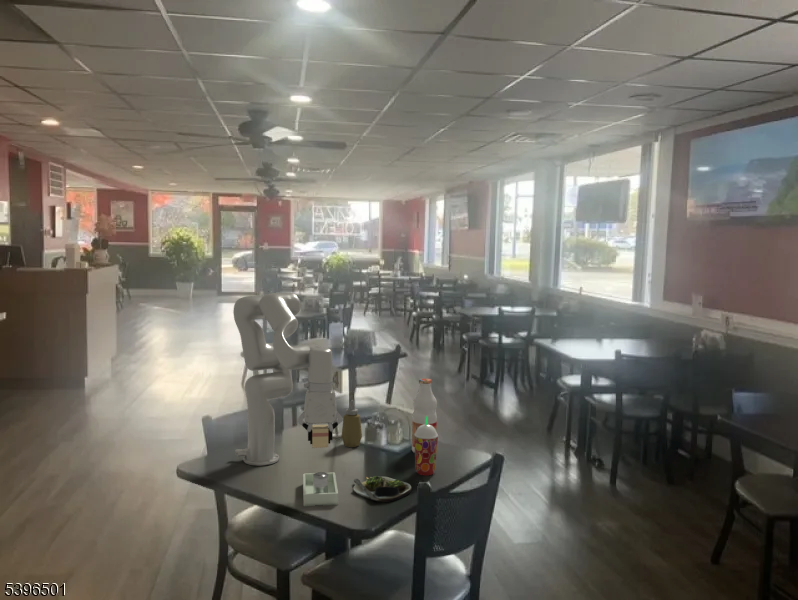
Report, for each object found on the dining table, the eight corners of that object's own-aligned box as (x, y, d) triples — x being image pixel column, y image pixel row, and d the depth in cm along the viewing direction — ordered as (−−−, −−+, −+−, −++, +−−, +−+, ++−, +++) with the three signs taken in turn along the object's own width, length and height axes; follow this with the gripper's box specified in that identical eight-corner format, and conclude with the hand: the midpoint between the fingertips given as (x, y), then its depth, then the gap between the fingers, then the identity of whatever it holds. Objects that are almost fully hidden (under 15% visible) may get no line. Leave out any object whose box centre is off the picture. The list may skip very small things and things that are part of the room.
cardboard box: (312, 448, 203) (312, 429, 203) (312, 443, 208) (312, 425, 208) (328, 447, 204) (328, 428, 204) (327, 442, 209) (327, 424, 209)
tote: (303, 506, 194) (303, 494, 194) (303, 484, 212) (303, 473, 212) (338, 504, 196) (338, 493, 196) (334, 482, 214) (334, 472, 213)
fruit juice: (407, 449, 250) (408, 378, 247) (428, 446, 254) (430, 376, 251) (419, 456, 241) (420, 383, 239) (440, 453, 246) (442, 381, 243)
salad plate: (336, 491, 207) (336, 477, 207) (374, 476, 221) (374, 463, 220) (381, 508, 195) (381, 493, 194) (418, 491, 208) (418, 477, 208)
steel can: (313, 500, 198) (313, 477, 197) (312, 494, 202) (313, 472, 202) (328, 499, 198) (328, 477, 198) (327, 493, 203) (328, 471, 202)
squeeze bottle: (353, 440, 259) (353, 396, 257) (366, 445, 253) (366, 400, 251) (337, 444, 254) (337, 400, 252) (349, 450, 248) (350, 404, 246)
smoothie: (424, 467, 230) (426, 412, 228) (442, 473, 224) (443, 417, 223) (408, 472, 224) (409, 416, 223) (425, 479, 219) (427, 421, 217)
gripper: (293, 390, 200) (293, 447, 201) (348, 388, 202) (347, 445, 204) (293, 384, 207) (293, 440, 209) (346, 383, 210) (345, 438, 211)
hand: (320, 442), depth 206 cm, fingers closed on cardboard box, 5 cm apart
